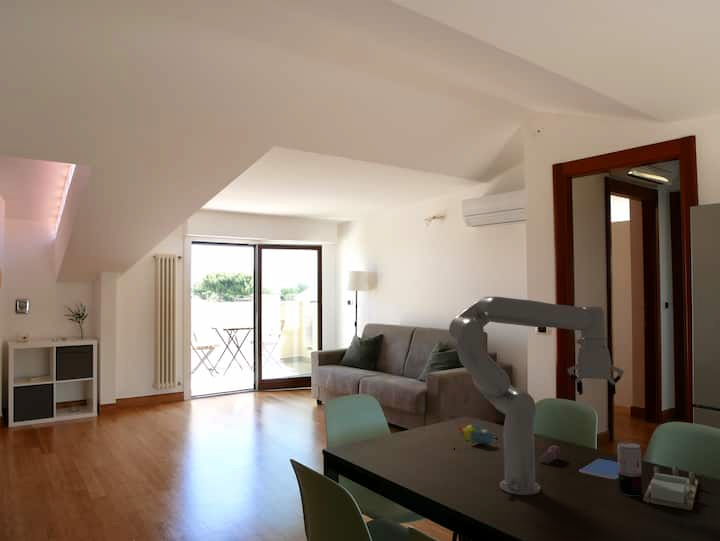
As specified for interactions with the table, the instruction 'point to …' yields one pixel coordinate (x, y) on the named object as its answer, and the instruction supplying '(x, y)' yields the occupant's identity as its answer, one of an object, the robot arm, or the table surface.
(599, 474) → the tablet computer
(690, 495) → the base board
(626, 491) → the beverage can
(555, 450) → the video game controller
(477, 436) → the owl figurine
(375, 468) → the table surface
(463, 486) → the table surface
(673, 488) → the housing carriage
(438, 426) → the table surface
